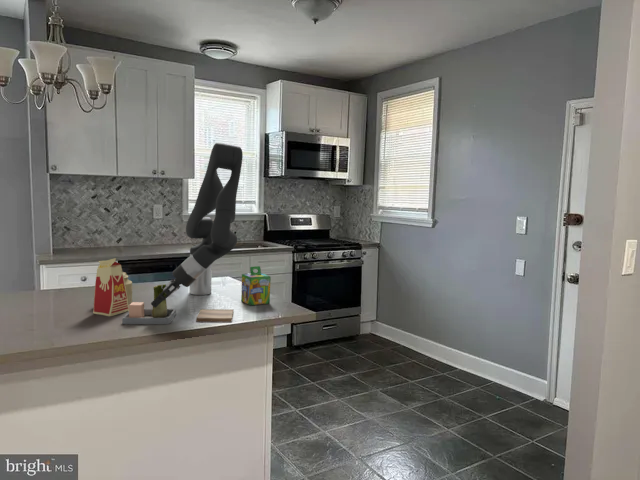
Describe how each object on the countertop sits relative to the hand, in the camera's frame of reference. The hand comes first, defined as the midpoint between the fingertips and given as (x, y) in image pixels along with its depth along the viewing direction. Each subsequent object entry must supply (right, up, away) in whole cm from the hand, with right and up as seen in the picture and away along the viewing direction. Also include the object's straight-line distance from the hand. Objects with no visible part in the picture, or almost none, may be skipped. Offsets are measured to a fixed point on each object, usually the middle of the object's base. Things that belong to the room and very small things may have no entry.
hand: (155, 302), depth 163 cm
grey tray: (-2, -6, -1) cm, 6 cm away
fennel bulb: (+1, -6, +1) cm, 6 cm away
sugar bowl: (-22, -3, +20) cm, 30 cm away
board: (+20, -6, +5) cm, 21 cm away
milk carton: (-19, -4, +6) cm, 20 cm away
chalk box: (+31, -4, +29) cm, 42 cm away
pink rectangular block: (-5, -6, -3) cm, 8 cm away
